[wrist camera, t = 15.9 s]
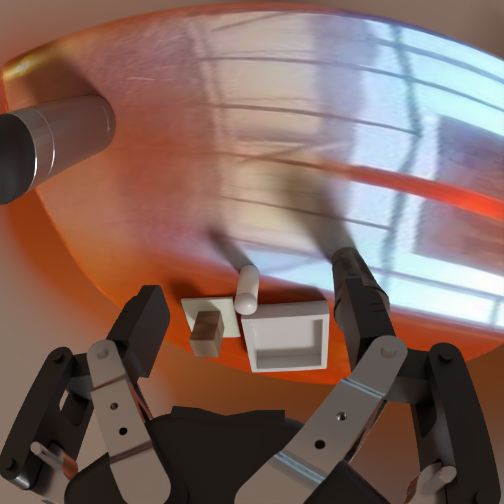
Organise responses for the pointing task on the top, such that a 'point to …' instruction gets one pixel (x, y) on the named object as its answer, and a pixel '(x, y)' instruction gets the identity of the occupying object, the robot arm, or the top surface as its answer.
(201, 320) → the walnut block
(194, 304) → the sage coaster
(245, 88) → the top surface
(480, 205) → the top surface
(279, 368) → the grey tub
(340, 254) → the beverage cup
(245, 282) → the salt shaker
